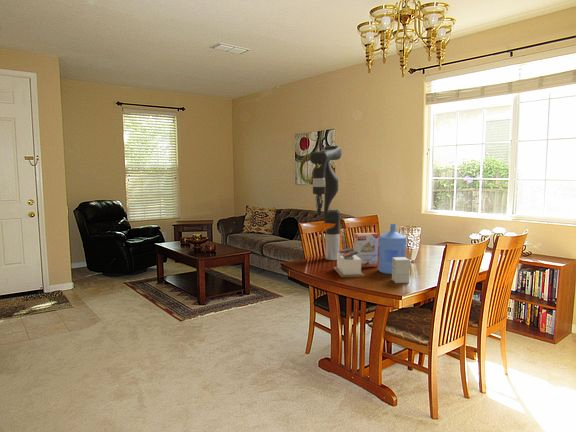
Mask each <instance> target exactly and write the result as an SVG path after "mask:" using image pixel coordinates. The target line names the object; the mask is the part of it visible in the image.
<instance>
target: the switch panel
mask: <svg viewBox="0 0 576 432" xmlns="http://www.w3.org/2000/svg"><path fill="white" fill-rule="evenodd" d="M344 254H346V253H342V254H340V253H339V254H337V260H336V266H333V269H334V271H336V272H337V274H338V275H339V276H340V277H341V278H365V274H364V273H363V272H362V268H361V259H360V258H359V257H358V256H356V255H353V256H352V257H348V258H344V257H343V255H344Z"/></svg>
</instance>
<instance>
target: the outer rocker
mask: <svg viewBox="0 0 576 432" xmlns="http://www.w3.org/2000/svg"><path fill="white" fill-rule="evenodd" d="M356 254H358V252H357V251H356V250H355V251H350V252H348V253H347V254H344V255H343V257H344V258H348V257H352V256H353V255H356Z"/></svg>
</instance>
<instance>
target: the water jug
mask: <svg viewBox="0 0 576 432" xmlns="http://www.w3.org/2000/svg"><path fill="white" fill-rule="evenodd" d="M396 225H397V224H396V223H395V224H394V223H390V227H389V228H390V230H389V231H388V232H385V233H382V234H380V235H379V236H378V266H377V267H378V268H377V269H378V272H380V273H382V274H387V275H392V257H406V249H407V237H406V235H404V234H402V233H400V232H398V231H397V230H396V229H397V227H396Z"/></svg>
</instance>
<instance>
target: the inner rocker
mask: <svg viewBox="0 0 576 432" xmlns="http://www.w3.org/2000/svg"><path fill="white" fill-rule="evenodd" d="M352 251H354V247H348V248H343V249H339V254H342V253H346V254H347V253H350V252H352Z"/></svg>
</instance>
